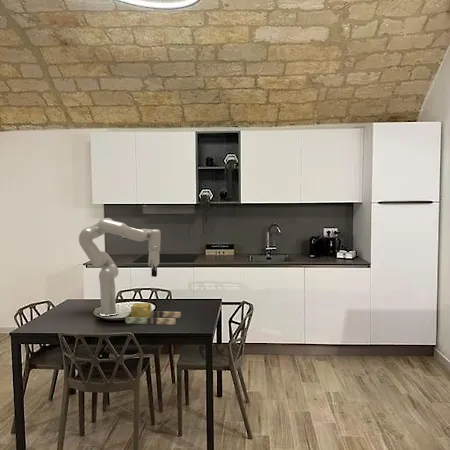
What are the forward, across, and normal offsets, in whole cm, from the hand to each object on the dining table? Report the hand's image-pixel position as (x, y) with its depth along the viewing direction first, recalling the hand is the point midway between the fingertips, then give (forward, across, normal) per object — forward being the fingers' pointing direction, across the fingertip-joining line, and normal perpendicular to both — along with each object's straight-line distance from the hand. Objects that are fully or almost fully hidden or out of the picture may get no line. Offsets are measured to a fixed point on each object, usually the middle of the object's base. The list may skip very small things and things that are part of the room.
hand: (154, 276), depth 312 cm
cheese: (+26, +13, -4) cm, 29 cm away
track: (+26, +12, +4) cm, 29 cm away
